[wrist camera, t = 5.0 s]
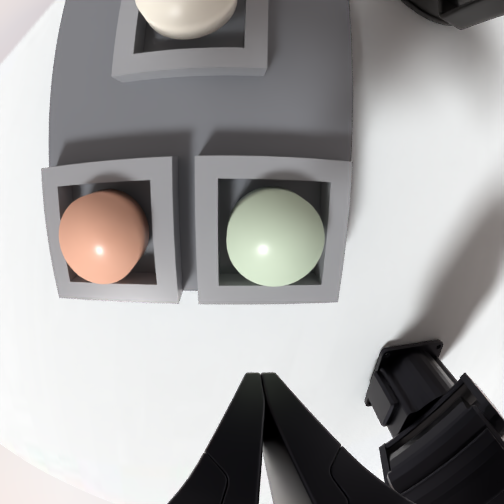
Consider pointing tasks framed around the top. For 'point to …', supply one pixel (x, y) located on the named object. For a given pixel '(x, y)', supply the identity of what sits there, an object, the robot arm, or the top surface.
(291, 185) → the console
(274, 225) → the sage button
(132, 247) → the terracotta button
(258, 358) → the top surface
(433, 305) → the top surface
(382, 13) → the top surface
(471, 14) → the french press
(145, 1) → the cream button
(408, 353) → the robot arm
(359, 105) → the top surface
